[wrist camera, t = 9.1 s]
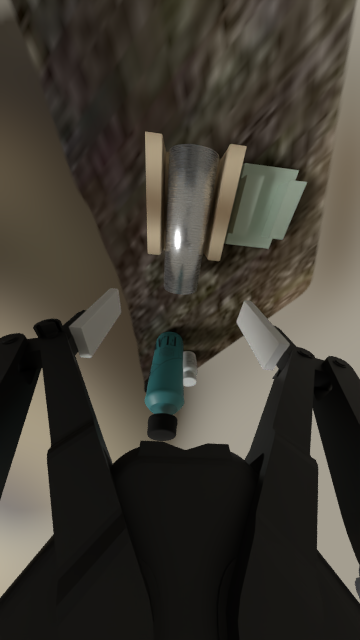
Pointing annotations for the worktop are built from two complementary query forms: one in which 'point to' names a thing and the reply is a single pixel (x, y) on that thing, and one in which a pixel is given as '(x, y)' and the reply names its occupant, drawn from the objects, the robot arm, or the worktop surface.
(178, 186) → the axle
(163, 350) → the beverage bottle
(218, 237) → the wooden bracket
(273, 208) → the v block
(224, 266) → the worktop surface
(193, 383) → the pill bottle
